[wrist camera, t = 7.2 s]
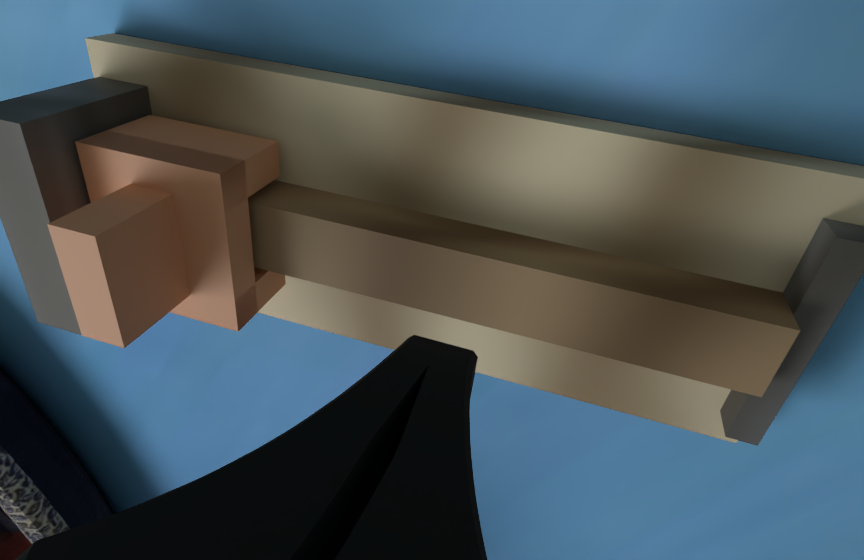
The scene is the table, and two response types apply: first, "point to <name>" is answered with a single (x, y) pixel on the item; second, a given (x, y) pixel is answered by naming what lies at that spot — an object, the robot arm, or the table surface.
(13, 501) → the dish
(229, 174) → the slider
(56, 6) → the table surface
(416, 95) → the rail board
